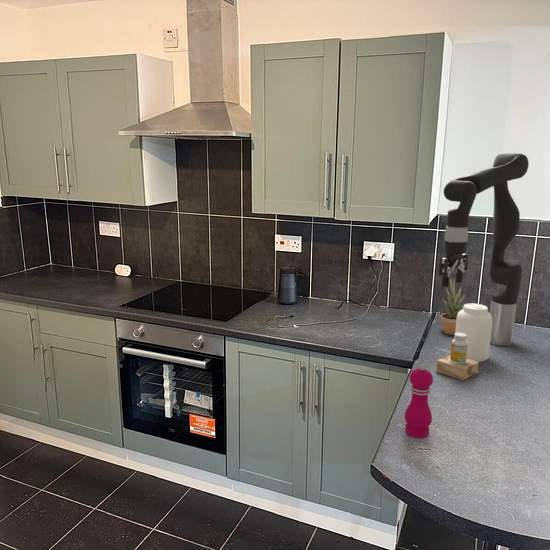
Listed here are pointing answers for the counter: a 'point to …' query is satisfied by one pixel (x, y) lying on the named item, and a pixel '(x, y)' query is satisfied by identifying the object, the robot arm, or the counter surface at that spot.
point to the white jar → (475, 330)
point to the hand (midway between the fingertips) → (452, 284)
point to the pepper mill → (419, 403)
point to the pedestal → (457, 368)
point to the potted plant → (451, 310)
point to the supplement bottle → (459, 348)
